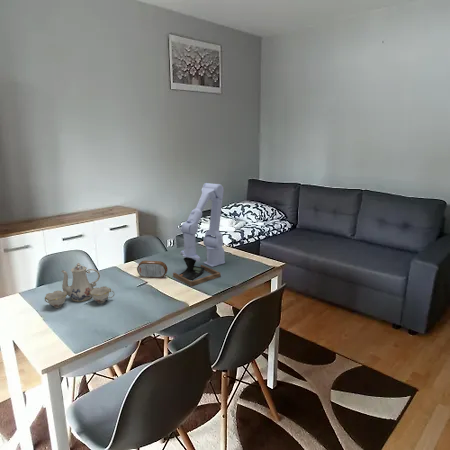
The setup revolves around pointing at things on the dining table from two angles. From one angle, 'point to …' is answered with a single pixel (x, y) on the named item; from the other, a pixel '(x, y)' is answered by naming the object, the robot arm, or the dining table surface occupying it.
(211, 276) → the brown angled flat piece
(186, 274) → the calculator
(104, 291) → the chinaware
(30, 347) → the dining table surface
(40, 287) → the dining table surface
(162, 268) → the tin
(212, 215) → the robot arm
